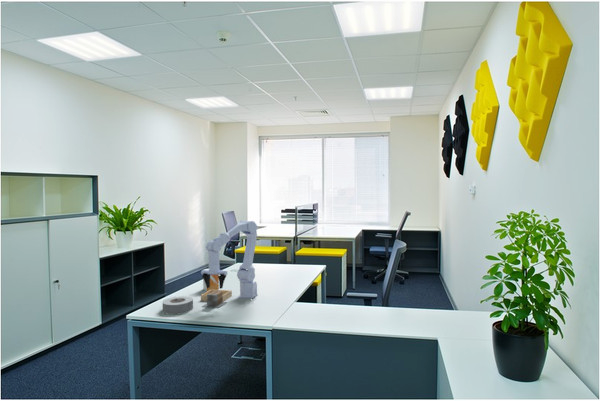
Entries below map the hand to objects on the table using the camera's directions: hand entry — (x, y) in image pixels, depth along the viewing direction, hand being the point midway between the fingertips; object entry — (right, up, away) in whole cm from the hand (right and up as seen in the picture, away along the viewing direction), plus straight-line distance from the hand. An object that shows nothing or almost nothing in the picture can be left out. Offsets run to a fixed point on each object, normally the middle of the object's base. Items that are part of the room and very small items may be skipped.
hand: (214, 287), depth 205 cm
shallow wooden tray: (-2, -9, +12) cm, 15 cm away
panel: (0, -9, 0) cm, 9 cm away
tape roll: (-18, -10, -6) cm, 21 cm away
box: (0, -9, 0) cm, 9 cm away
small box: (-10, -9, +33) cm, 36 cm away
